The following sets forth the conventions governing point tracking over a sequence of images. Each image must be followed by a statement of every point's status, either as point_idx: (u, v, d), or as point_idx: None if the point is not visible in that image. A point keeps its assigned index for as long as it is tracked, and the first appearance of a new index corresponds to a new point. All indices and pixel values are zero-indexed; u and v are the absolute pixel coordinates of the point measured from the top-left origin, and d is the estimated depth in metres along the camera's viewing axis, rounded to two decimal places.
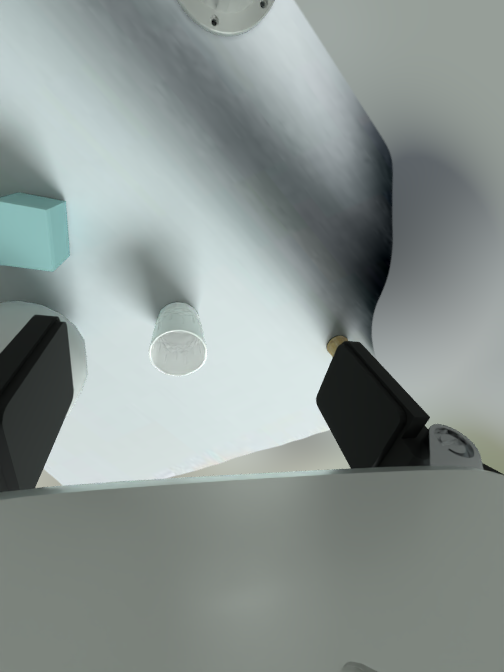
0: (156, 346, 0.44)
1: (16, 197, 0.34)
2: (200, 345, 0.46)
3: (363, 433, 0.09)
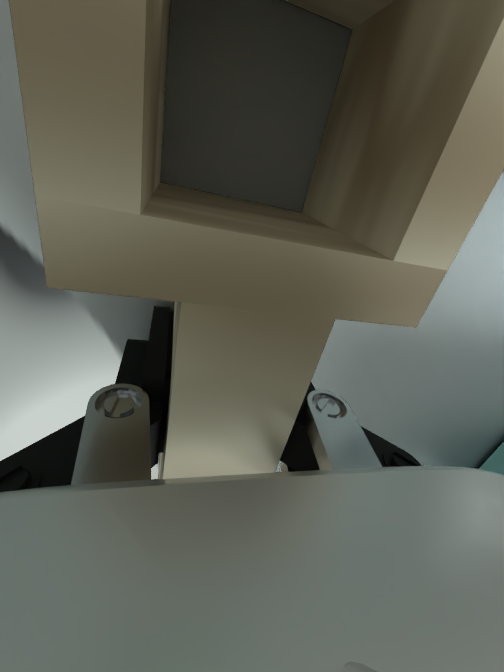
0: None
1: None
2: None
3: None
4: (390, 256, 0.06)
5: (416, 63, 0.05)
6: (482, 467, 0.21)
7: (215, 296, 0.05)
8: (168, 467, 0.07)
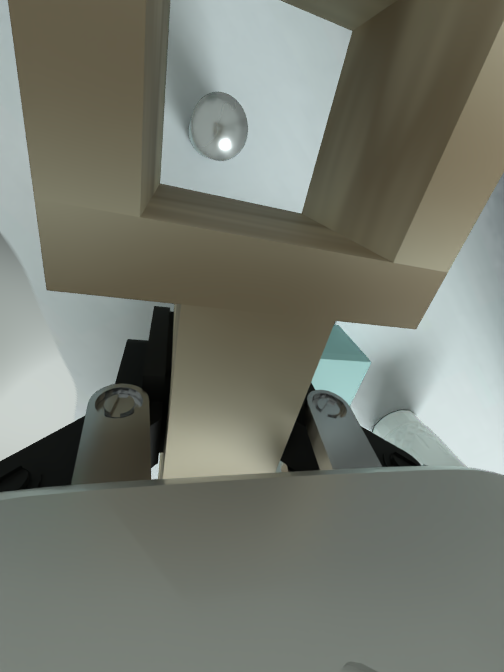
0: None
1: None
2: None
3: None
4: (390, 257, 0.06)
5: (416, 64, 0.05)
6: None
7: (215, 298, 0.05)
8: (168, 468, 0.07)
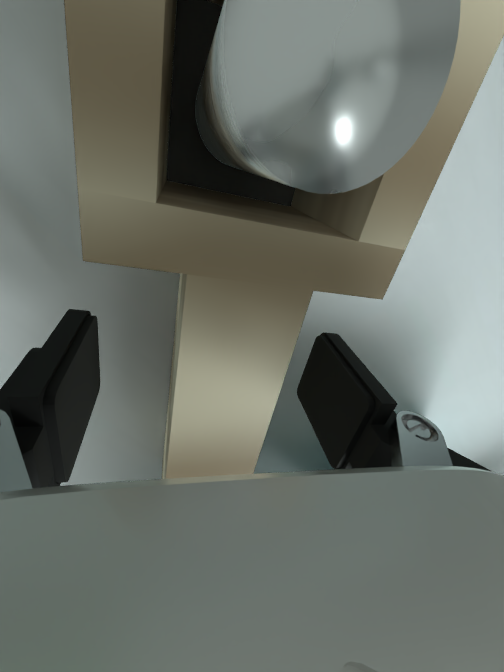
0: None
1: None
2: None
3: (337, 421, 0.09)
4: (356, 237, 0.07)
5: None
6: None
7: (214, 269, 0.06)
8: (175, 422, 0.09)
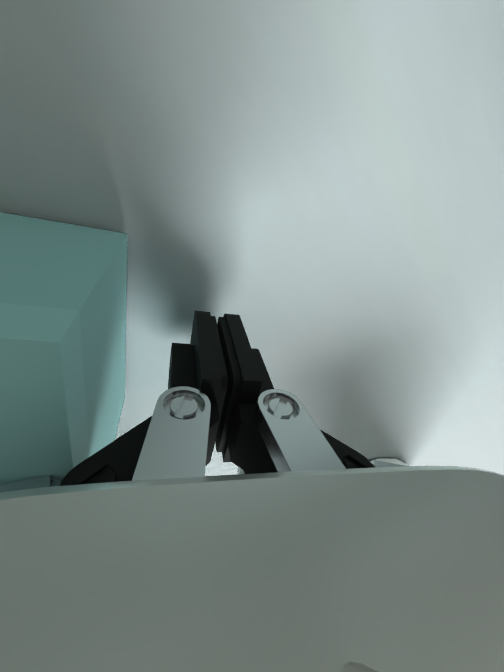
0: None
1: None
2: None
3: None
4: None
5: None
6: None
7: None
8: None
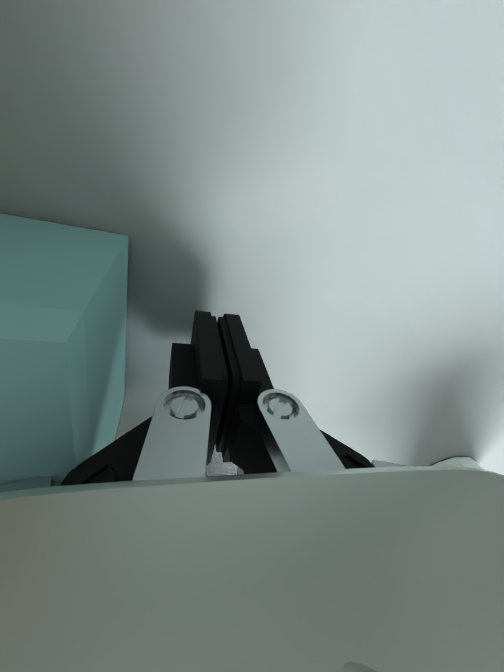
0: None
1: None
2: None
3: None
4: None
5: None
6: None
7: None
8: None
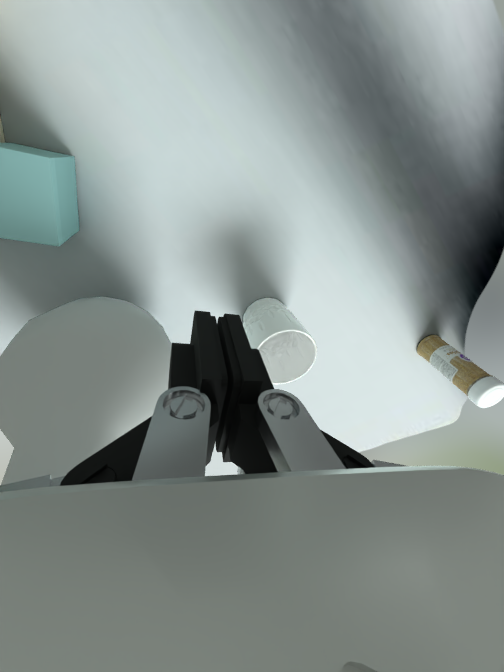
0: None
1: (9, 145, 0.25)
2: (299, 347, 0.39)
3: None
4: None
5: None
6: None
7: None
8: None
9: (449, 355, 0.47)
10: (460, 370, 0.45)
